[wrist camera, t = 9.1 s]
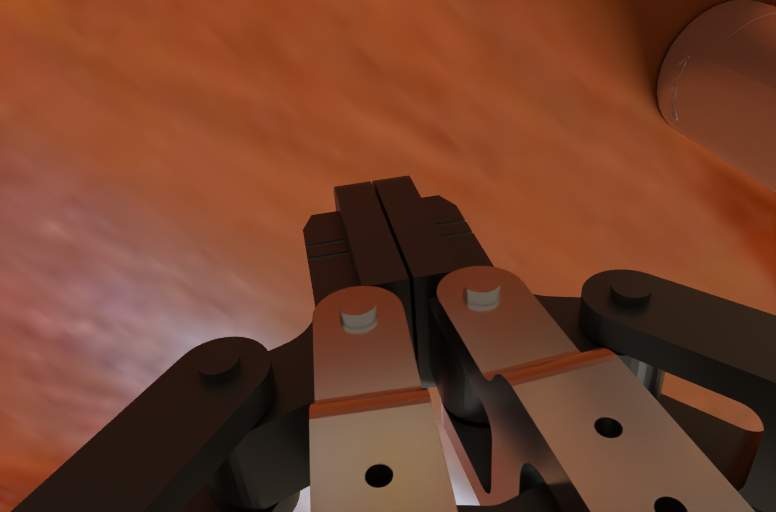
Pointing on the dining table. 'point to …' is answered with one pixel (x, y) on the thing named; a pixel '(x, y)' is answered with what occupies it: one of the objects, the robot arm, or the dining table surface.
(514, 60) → the dining table surface
